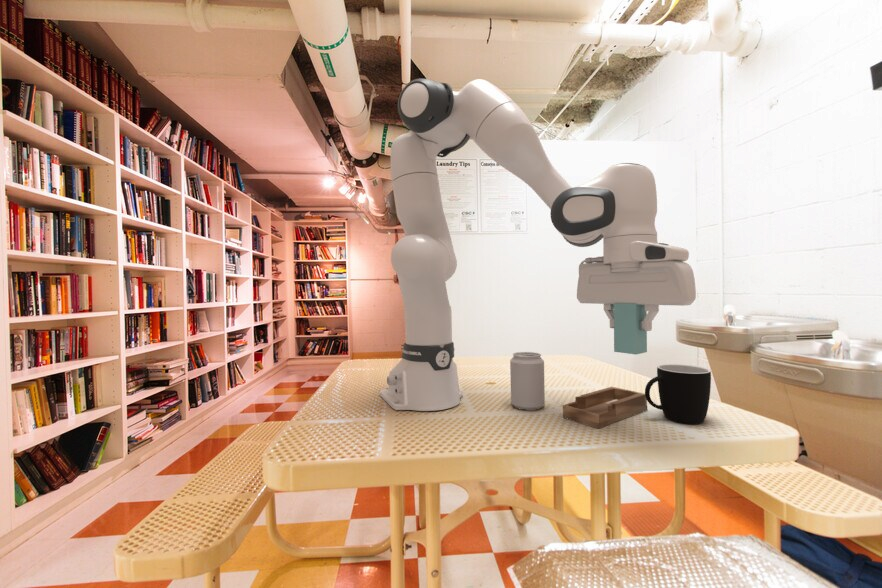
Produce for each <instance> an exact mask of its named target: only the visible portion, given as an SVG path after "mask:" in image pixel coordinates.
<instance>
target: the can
mask: <svg viewBox="0 0 882 588" xmlns="http://www.w3.org/2000/svg"><path fill="white" fill-rule="evenodd" d="M512 356H513V357H511V359H510V361H509V363H510V365H509V366H510V367H509V368H510V373H509V374H510V403H511V404H512V405H513V406H514V407H515V409H518V408H520V409H519V410H522V409H526V410H525V411H536V410H535V409H538V410H539V408H540V409H541V408H542V407H544V405H545V404H546V397H545V392H546V391H545V389H546V388H545V361H544V359H543V358H542V357H541V356H542V354H541V353H539V352H534V351H533V352H532V351H520V352H519V351H518V352H514V353H512Z"/></svg>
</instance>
